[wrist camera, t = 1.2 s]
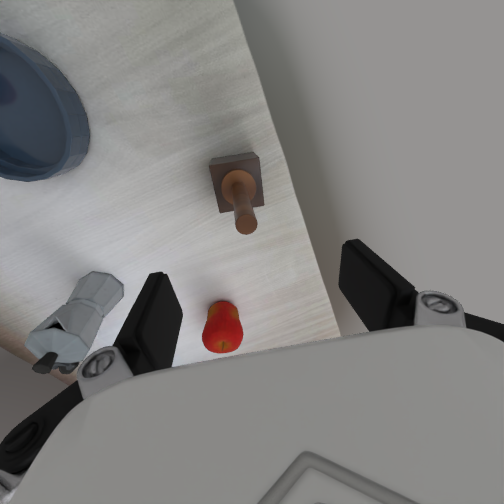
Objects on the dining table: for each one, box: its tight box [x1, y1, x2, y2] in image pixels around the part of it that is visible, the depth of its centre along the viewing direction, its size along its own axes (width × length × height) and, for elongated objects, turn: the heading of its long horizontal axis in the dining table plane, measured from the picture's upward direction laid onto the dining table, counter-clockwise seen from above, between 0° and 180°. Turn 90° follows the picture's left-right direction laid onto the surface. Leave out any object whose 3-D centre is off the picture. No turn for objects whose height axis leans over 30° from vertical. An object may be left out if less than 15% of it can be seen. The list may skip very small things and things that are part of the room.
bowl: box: [0, 33, 90, 182], centre depth 28 cm, size 16×16×5 cm
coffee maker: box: [24, 272, 124, 374], centre depth 39 cm, size 15×9×18 cm, turn 164°
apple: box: [202, 301, 243, 353], centre depth 48 cm, size 9×8×12 cm
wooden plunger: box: [221, 169, 257, 235], centre depth 26 cm, size 5×5×14 cm
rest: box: [209, 152, 264, 213], centre depth 35 cm, size 7×7×7 cm
